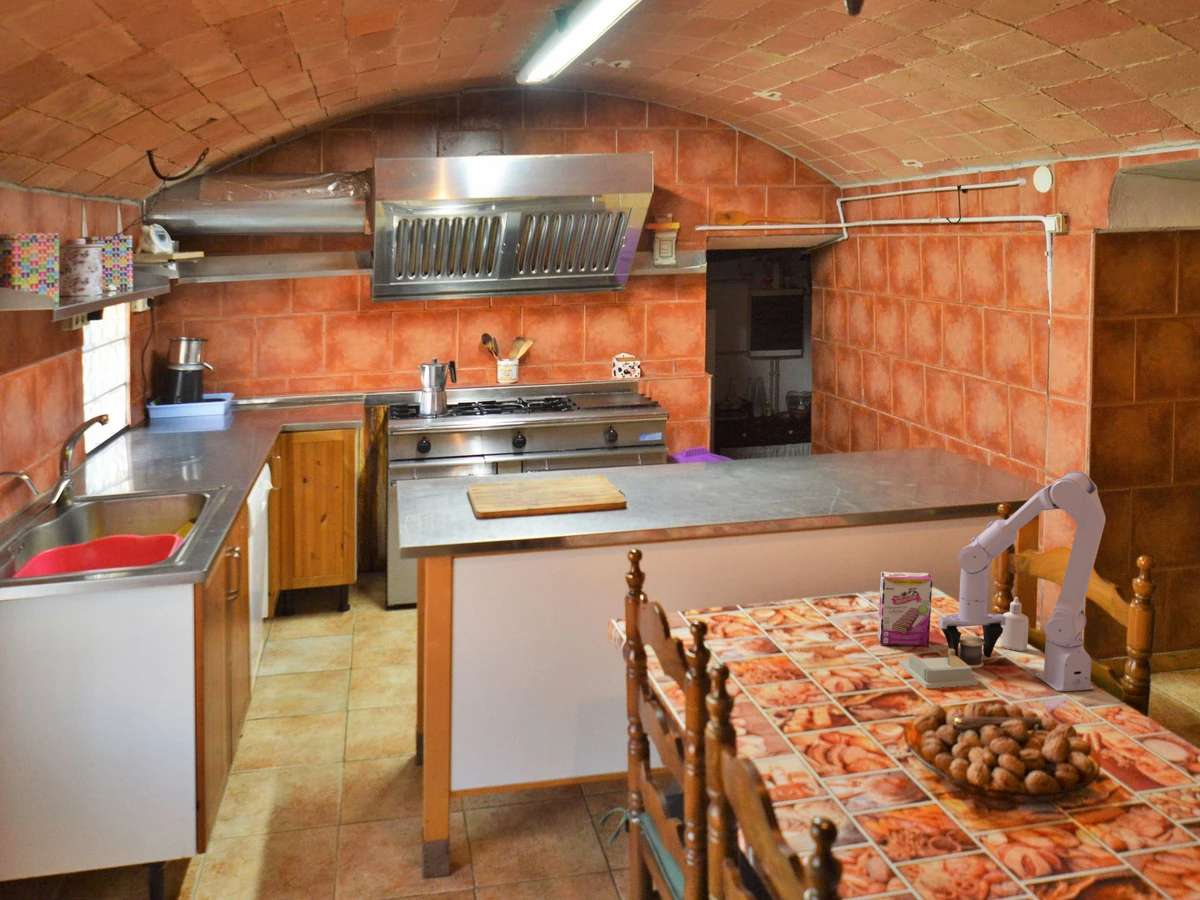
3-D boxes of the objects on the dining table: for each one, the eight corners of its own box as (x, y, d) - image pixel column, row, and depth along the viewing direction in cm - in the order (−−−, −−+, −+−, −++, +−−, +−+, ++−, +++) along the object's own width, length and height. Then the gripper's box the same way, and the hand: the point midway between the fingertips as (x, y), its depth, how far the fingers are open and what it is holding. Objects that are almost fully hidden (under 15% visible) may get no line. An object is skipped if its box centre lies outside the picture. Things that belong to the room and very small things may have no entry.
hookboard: (978, 685, 235) (979, 664, 234) (925, 688, 233) (926, 668, 232) (948, 661, 248) (949, 641, 248) (899, 664, 247) (899, 645, 246)
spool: (988, 667, 245) (989, 643, 244) (963, 669, 244) (964, 645, 243) (976, 658, 250) (977, 634, 249) (952, 660, 249) (953, 636, 248)
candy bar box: (880, 646, 259) (882, 577, 256) (877, 638, 263) (879, 571, 261) (930, 647, 257) (933, 578, 255) (926, 640, 262) (929, 571, 260)
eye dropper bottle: (1014, 653, 253) (1017, 602, 251) (997, 645, 258) (999, 595, 256) (1030, 650, 254) (1033, 599, 252) (1012, 643, 260) (1015, 592, 257)
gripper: (995, 590, 249) (993, 649, 252) (933, 594, 247) (931, 653, 250) (1011, 600, 242) (1008, 660, 245) (947, 603, 240) (945, 664, 243)
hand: (970, 657), depth 247 cm, fingers open, 7 cm apart
